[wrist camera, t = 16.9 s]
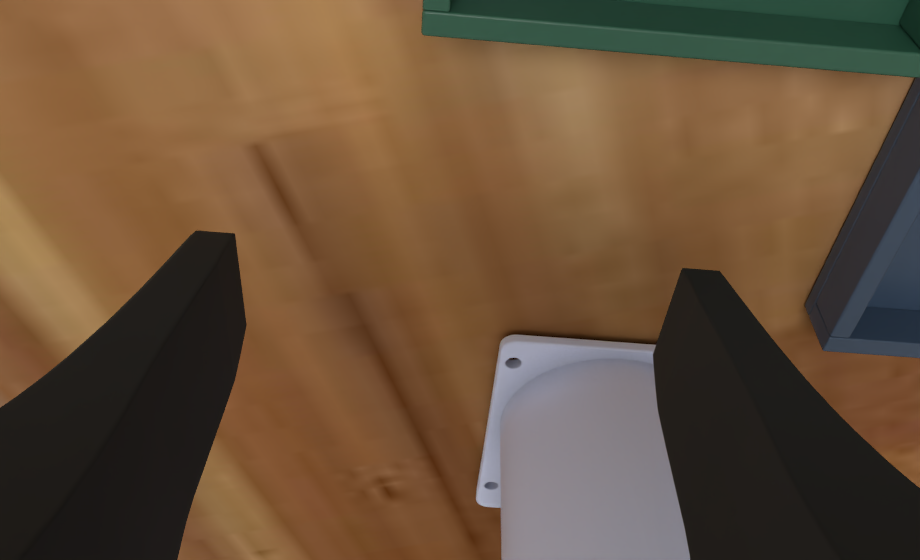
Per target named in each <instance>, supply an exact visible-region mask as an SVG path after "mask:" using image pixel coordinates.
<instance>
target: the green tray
mask: <svg viewBox="0 0 920 560" xmlns="http://www.w3.org/2000/svg"><path fill="white" fill-rule="evenodd" d="M421 32H422V34H423V35H427V36H438V37H450V38H462V39H473V40H485V41H497V42H508V43H520V44H531V45H543V46H555V47H566V48H578V49H590V50H601V51H613V52H625V53H636V54H648V55H660V56H671V57H683V58H694V59H706V60H718V61H729V62H741V63H753V64H764V65H776V66H788V67H799V68H811V69H822V70H834V71H846V72H857V73H869V74H881V75H892V76H904V77H916V78H920V0H423V12H422V31H421Z"/></svg>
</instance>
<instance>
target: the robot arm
mask: <svg viewBox="0 0 920 560" xmlns="http://www.w3.org/2000/svg"><path fill="white" fill-rule="evenodd" d="M245 329H246V318H245V310H244V302H243V294H242V286H241V279H240V271H239V263H238V255H237V247H236V239H235V234H234V233H221V232H208V231H195V232H194V233H193V234H192V235H190V236H189V237H188V239H187V240H186V241H185V242H184V243H183V244H182V245H181V246H180V247H179V248H178V249H177V250H176V252H175V253H174V254H173V255H172V256H171V257H170V258H169V259H168V260H167V261H166V262H165V263H164V265H163V266H162V267H161V268H160V269H159V270H158V271H157V272H156V273H155V274H154V275H153V276H152V277H151V278H150V279H149V280H148V281H147V282H146V283H145V285H144V286H143V287H142V288H141V289H140V290H139V291H138V292H137V293H136V294H135V295H134V296H133V297H132V298H131V299H130V300H129V301H128V302H126V303H125V304H124V305H123V306H122V307H121V308H120V309H119V310H118V311H117V312H116V313H115V314H114V315H113V316H112V317H111V318H110V319H109V320H108V321H107V322H106V323H105V324H104V325H103V326H102V327H100V328H99V329H98V330H97V331H96V332H95V333H94V334H93V335H91V336H90V337H89V338H88V339H87V340H86V341H85V342H84V343H83V344H81V345H80V346H79V347H78V348H77V349H76V350H75V351H74V352H72V353H71V354H70V355H69V356H68V357H67V358H65V359H64V360H63V361H62V362H60V363H59V364H58V365H57V366H56V367H54V368H53V369H52V370H51V371H49V372H48V373H47V374H46V375H44V376H43V377H42V378H41V379H39V380H38V381H37V382H35V383H34V384H33V385H31V386H30V387H29V388H27V389H26V390H25V391H23V392H22V393H21V394H19V395H18V396H17V397H15V398H14V399H12V400H11V401H9V402H8V403H7V404H5V405H4V406H2V407H1V408H0V560H177V558H178V554H179V550H180V546H181V541H182V537H183V533H184V529H185V525H186V521H187V518H188V514H189V511H190V508H191V505H192V501H193V498H194V495H195V492H196V489H197V486H198V484H199V481H200V478H201V475H202V472H203V470H204V467H205V464H206V461H207V458H208V455H209V453H210V450H211V447H212V444H213V441H214V438H215V436H216V433H217V430H218V427H219V424H220V422H221V419H222V416H223V413H224V410H225V407H226V404H227V401H228V399H229V396H230V393H231V390H232V387H233V384H234V381H235V377H236V372H237V368H238V363H239V359H240V354H241V349H242V344H243V339H244V334H245ZM509 358H518V359H515V360H511V359H509ZM476 501H477V502H478V504H480V505H482V506H485V507H496V508H501V560H920V488H919V487H918V486H916V485H915V484H914V483H913V482H911V481H910V480H909V479H908V478H907V477H905V476H904V475H903V474H902V473H901V472H900V471H898V470H897V469H896V468H895V467H894V466H893V465H891V464H890V463H889V462H888V461H887V460H886V459H885V458H884V457H883V456H881V455H880V454H879V453H878V452H877V451H876V450H875V449H874V448H873V447H872V446H871V445H870V444H869V443H867V442H866V441H865V440H864V439H863V438H862V437H861V436H860V435H859V434H858V433H857V432H856V431H855V430H854V429H853V428H852V427H851V426H850V425H849V424H848V423H847V422H846V421H845V420H844V419H843V418H842V417H841V416H840V415H839V414H838V413H837V412H836V411H835V410H834V409H833V408H832V407H831V406H830V405H829V404H828V403H827V402H826V400H825V399H824V398H823V397H822V396H821V395H820V394H819V393H818V392H817V391H816V390H815V389H814V388H813V387H812V385H811V384H810V383H809V382H808V381H807V380H806V379H805V377H804V376H803V375H802V374H801V373H800V372H799V371H798V369H797V368H796V367H795V366H794V365H793V364H792V362H791V361H790V360H789V359H788V358H787V356H786V355H785V354H784V353H783V352H782V350H781V349H780V348H779V347H778V346H777V344H776V343H775V342H774V341H773V339H772V338H771V337H770V336H769V334H768V333H767V332H766V330H765V329H764V328H763V327H762V325H761V324H760V323H759V321H758V320H757V319H756V318H755V316H754V315H753V314H752V312H751V311H750V310H749V309H748V307H747V306H746V305H745V303H744V302H743V301H742V299H741V298H740V297H739V296H738V294H737V293H736V292H735V290H734V289H733V288H732V286H731V285H730V284H729V283H728V281H727V280H726V279H725V277H724V276H723V275H722V274H721V272H720V271H713V270H701V269H688V268H682V270H681V273H680V276H679V279H678V282H677V285H676V288H675V291H674V294H673V297H672V300H671V302H670V305H669V308H668V311H667V314H666V317H665V320H664V323H663V326H662V329H661V332H660V335H659V338H658V341H657V344H656V345H652V344H639V343H625V342H612V341H598V340H585V339H571V338H558V337H544V336H530V335H517V334H516V335H509V336H507V337H505V338H504V339H502V340H501V343H500V346H499V353H498V359H497V365H496V371H495V378H494V384H493V390H492V396H491V402H490V409H489V415H488V421H487V427H486V433H485V440H484V446H483V452H482V458H481V465H480V471H479V477H478V483H477V489H476Z"/></svg>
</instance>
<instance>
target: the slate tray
mask: <svg viewBox="0 0 920 560" xmlns="http://www.w3.org/2000/svg"><path fill="white" fill-rule="evenodd" d="M805 307H806V310H807V312H808V315H809V318H810V320H811V323H812V325H813V327H814V330H815V332H816V335H817V337H818V340H819V342H820V345H821V347H822V350H823V351H832V352H846V353H859V354H873V355H886V356H900V357H913V358H920V78H915V80H914V82H913V84H912V87H911V89H910V91H909V93H908V95H907V97H906V99H905V101H904V103H903V105H902V107H901V109H900V111H899V113H898V115H897V117H896V119H895V121H894V123H893V125H892V127H891V129H890V132H889V134H888V136H887V138H886V140H885V142H884V144H883V146H882V148H881V150H880V152H879V154H878V156H877V158H876V160H875V162H874V164H873V166H872V168H871V170H870V172H869V174H868V177H867V179H866V181H865V183H864V185H863V187H862V189H861V191H860V193H859V195H858V197H857V199H856V201H855V203H854V205H853V207H852V209H851V211H850V213H849V215H848V217H847V220H846V222H845V224H844V226H843V228H842V230H841V232H840V234H839V236H838V238H837V240H836V242H835V244H834V246H833V248H832V250H831V252H830V254H829V256H828V258H827V260H826V262H825V265H824V267H823V269H822V271H821V273H820V275H819V277H818V279H817V281H816V283H815V285H814V287H813V289H812V291H811V293H810V295H809V297H808V299H807V301H806V303H805Z"/></svg>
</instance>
